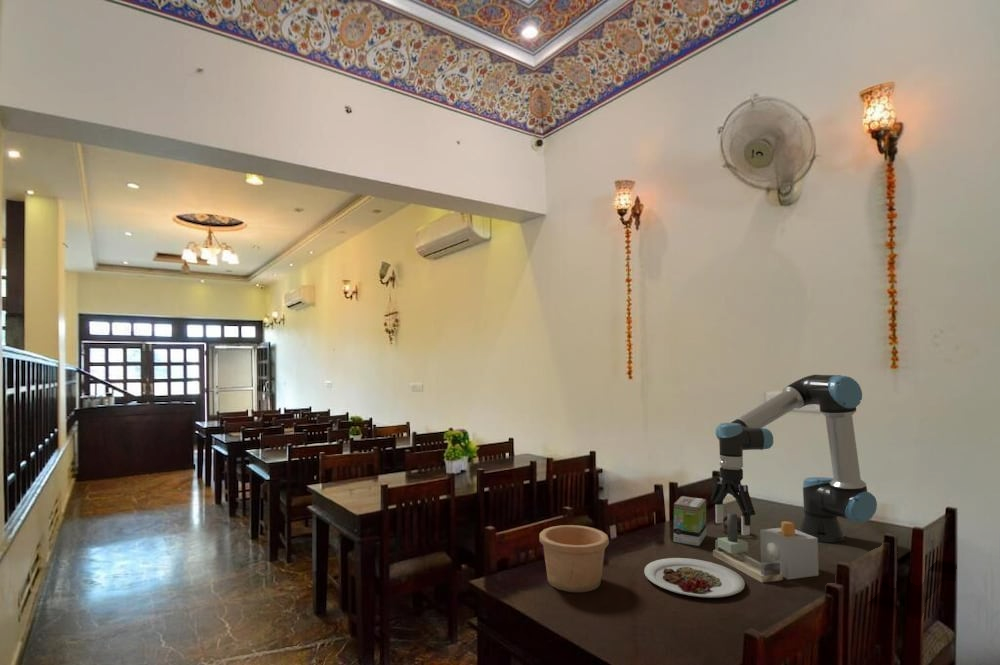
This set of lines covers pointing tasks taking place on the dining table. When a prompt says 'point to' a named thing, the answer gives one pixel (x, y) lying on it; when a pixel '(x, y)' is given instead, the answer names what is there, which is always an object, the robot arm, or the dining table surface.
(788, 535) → the plunger
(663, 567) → the plated food
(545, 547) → the pottery
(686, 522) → the tea box
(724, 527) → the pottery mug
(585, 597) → the dining table surface
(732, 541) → the carriage
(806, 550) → the grey cube box
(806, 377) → the robot arm
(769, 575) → the rail board
